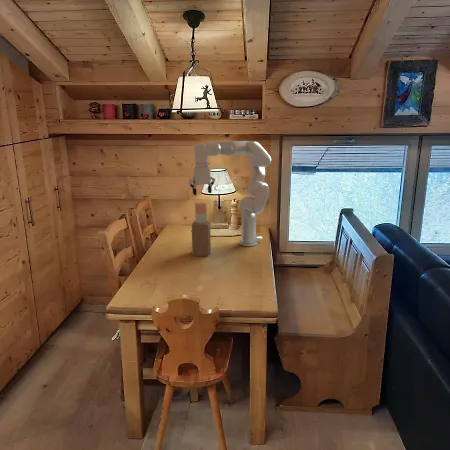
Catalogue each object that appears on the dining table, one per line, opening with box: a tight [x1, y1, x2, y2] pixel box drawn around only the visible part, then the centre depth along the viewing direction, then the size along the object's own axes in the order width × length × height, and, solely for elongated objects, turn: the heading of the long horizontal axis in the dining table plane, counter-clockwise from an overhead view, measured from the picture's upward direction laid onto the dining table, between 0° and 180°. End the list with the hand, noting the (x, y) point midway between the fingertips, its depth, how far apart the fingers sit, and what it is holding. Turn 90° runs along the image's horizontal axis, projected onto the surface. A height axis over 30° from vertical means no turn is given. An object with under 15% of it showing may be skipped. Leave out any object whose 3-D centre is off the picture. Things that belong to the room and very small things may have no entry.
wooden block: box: [191, 220, 212, 257], centre depth 257 cm, size 10×10×20 cm
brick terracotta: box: [194, 201, 207, 214], centre depth 252 cm, size 5×5×6 cm
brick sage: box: [194, 212, 208, 224], centre depth 254 cm, size 5×5×6 cm
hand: (202, 193), depth 250 cm, fingers open, 9 cm apart
